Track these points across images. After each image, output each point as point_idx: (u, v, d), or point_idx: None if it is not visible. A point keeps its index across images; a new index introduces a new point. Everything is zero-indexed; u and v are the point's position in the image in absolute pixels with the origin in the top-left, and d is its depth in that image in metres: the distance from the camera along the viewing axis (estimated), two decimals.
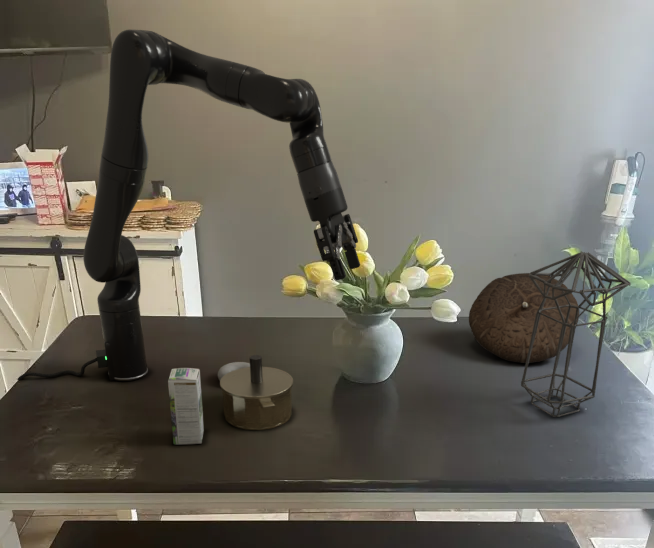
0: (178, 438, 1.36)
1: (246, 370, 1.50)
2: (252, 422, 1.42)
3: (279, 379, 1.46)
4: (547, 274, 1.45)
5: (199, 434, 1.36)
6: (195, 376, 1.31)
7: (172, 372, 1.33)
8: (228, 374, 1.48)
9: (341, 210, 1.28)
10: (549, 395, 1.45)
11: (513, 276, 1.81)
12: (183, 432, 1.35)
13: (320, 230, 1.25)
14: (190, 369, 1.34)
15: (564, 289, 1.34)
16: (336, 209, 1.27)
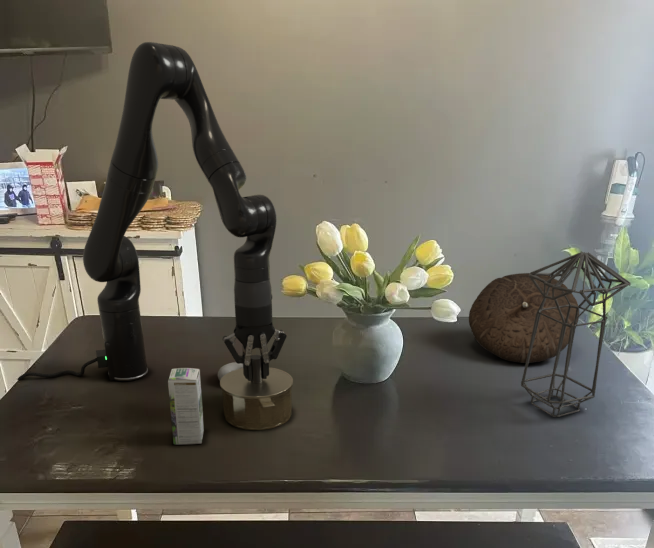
0: (178, 438, 1.36)
1: None
2: (252, 422, 1.42)
3: (279, 379, 1.46)
4: (547, 274, 1.45)
5: (199, 434, 1.36)
6: (195, 376, 1.31)
7: (172, 372, 1.33)
8: (228, 374, 1.48)
9: (250, 326, 1.35)
10: (549, 395, 1.45)
11: (513, 276, 1.81)
12: (183, 432, 1.35)
13: (224, 341, 1.38)
14: (190, 369, 1.34)
15: (564, 289, 1.34)
16: (245, 324, 1.35)
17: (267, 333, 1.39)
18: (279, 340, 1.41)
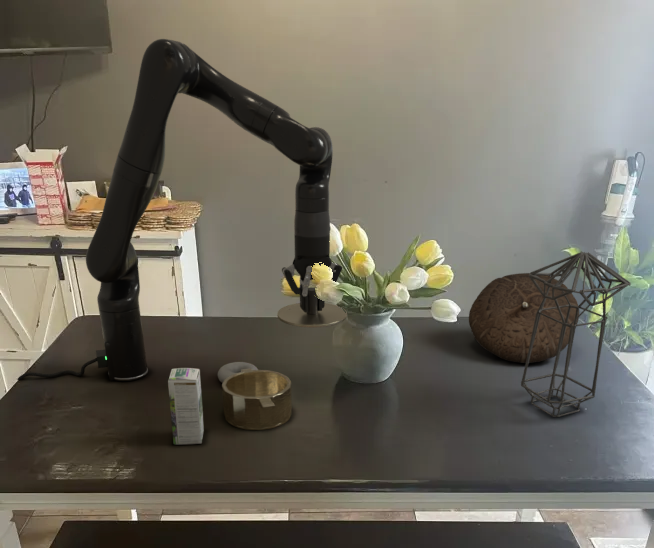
0: (178, 438, 1.36)
1: None
2: (252, 422, 1.42)
3: (333, 312, 1.52)
4: (547, 274, 1.45)
5: (199, 434, 1.36)
6: (195, 376, 1.31)
7: (172, 372, 1.33)
8: (284, 308, 1.54)
9: (309, 256, 1.41)
10: (549, 395, 1.45)
11: (513, 276, 1.81)
12: (183, 432, 1.35)
13: (283, 272, 1.44)
14: (190, 369, 1.34)
15: (564, 289, 1.34)
16: (304, 254, 1.41)
17: None
18: (335, 272, 1.47)
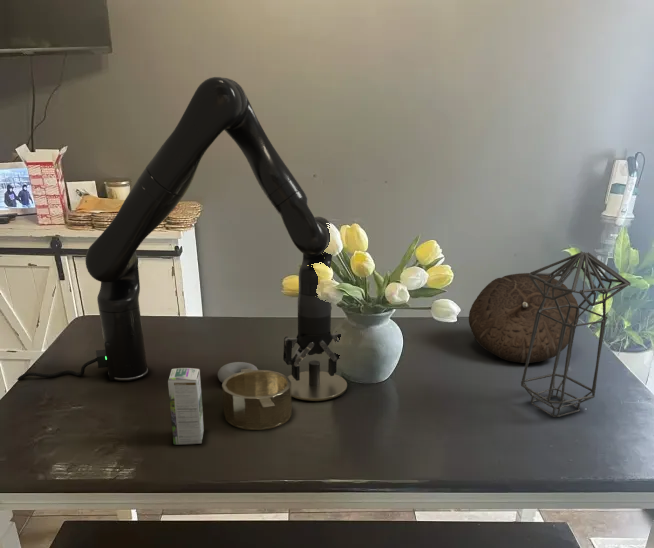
0: (178, 438, 1.36)
1: (303, 374, 1.65)
2: (252, 422, 1.42)
3: (334, 382, 1.61)
4: (547, 274, 1.45)
5: (199, 434, 1.36)
6: (195, 376, 1.31)
7: (172, 372, 1.33)
8: None
9: (311, 334, 1.50)
10: (549, 395, 1.45)
11: (513, 276, 1.81)
12: (183, 432, 1.35)
13: (286, 340, 1.52)
14: (190, 369, 1.34)
15: (564, 289, 1.34)
16: (307, 332, 1.50)
17: (325, 340, 1.55)
18: None
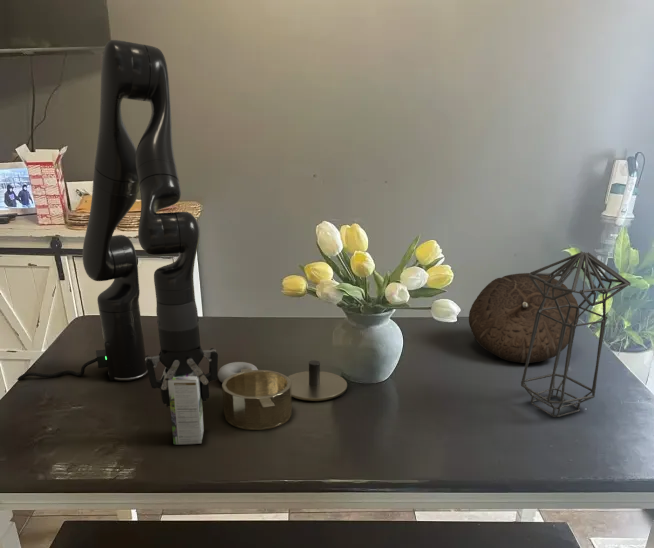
0: (178, 438, 1.36)
1: (303, 374, 1.65)
2: (252, 422, 1.42)
3: (334, 382, 1.61)
4: (547, 274, 1.45)
5: (199, 434, 1.36)
6: (195, 376, 1.31)
7: None
8: None
9: (174, 351, 1.26)
10: (549, 395, 1.45)
11: (513, 276, 1.81)
12: (183, 432, 1.35)
13: (145, 360, 1.28)
14: None
15: (564, 289, 1.34)
16: (168, 348, 1.26)
17: (195, 357, 1.30)
18: (212, 360, 1.32)
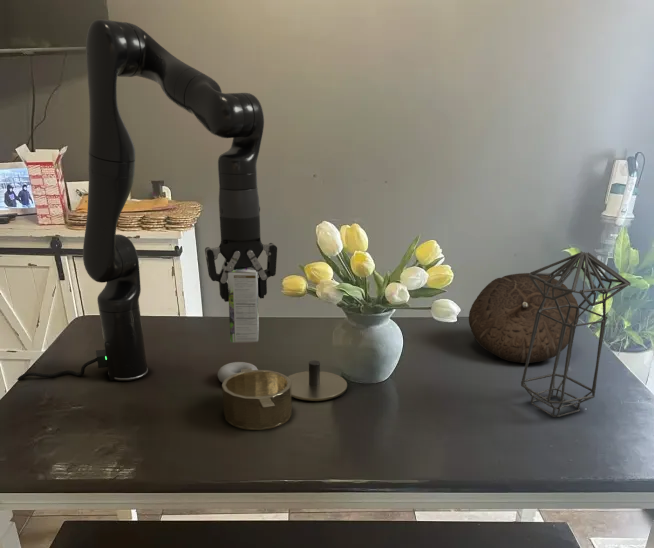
0: (235, 335, 1.35)
1: (303, 374, 1.65)
2: (252, 422, 1.42)
3: (334, 382, 1.61)
4: (547, 274, 1.45)
5: (256, 331, 1.35)
6: (254, 270, 1.31)
7: None
8: None
9: (235, 240, 1.25)
10: (549, 395, 1.45)
11: (513, 276, 1.81)
12: (240, 329, 1.35)
13: (206, 251, 1.28)
14: None
15: (564, 289, 1.34)
16: (230, 237, 1.25)
17: (255, 250, 1.30)
18: (271, 254, 1.31)
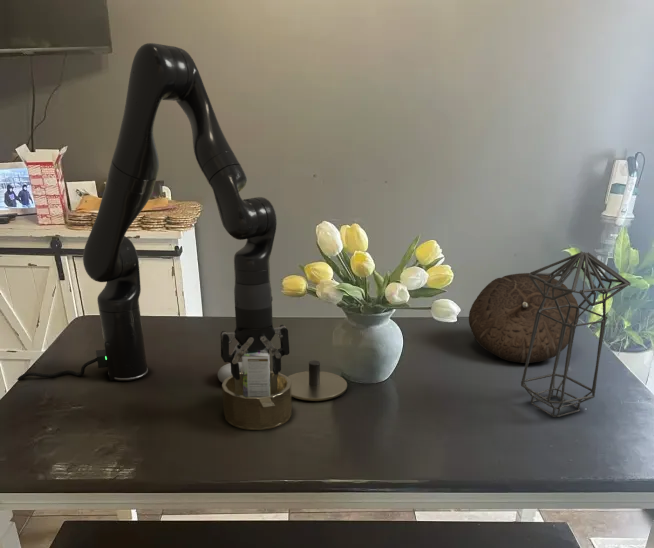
0: None
1: (303, 374, 1.65)
2: (252, 422, 1.42)
3: (334, 382, 1.61)
4: (547, 274, 1.45)
5: None
6: (266, 353, 1.41)
7: None
8: None
9: (250, 328, 1.35)
10: (549, 395, 1.45)
11: (513, 276, 1.81)
12: None
13: (222, 335, 1.37)
14: None
15: (564, 289, 1.34)
16: (245, 326, 1.35)
17: (267, 335, 1.40)
18: (283, 336, 1.41)
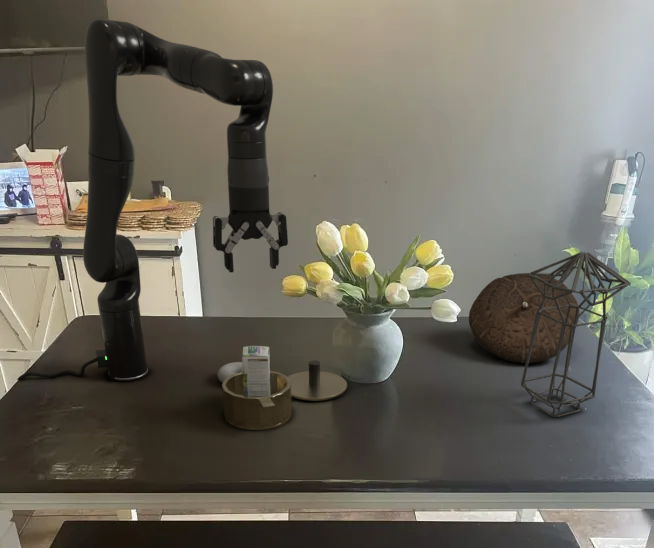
0: None
1: (303, 374, 1.65)
2: (252, 422, 1.42)
3: (334, 382, 1.61)
4: (547, 274, 1.45)
5: None
6: (266, 353, 1.41)
7: (244, 349, 1.42)
8: None
9: (244, 210, 1.24)
10: (549, 395, 1.45)
11: (513, 276, 1.81)
12: None
13: (214, 219, 1.26)
14: (260, 347, 1.43)
15: (564, 289, 1.34)
16: (239, 208, 1.24)
17: (264, 221, 1.29)
18: (281, 224, 1.30)
